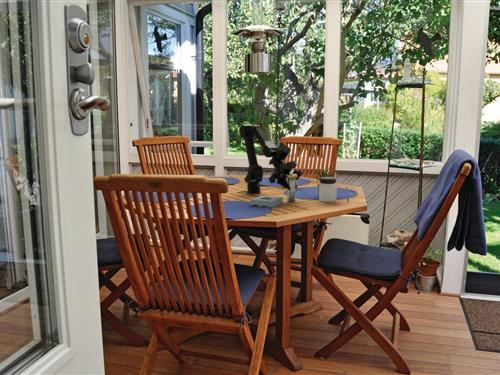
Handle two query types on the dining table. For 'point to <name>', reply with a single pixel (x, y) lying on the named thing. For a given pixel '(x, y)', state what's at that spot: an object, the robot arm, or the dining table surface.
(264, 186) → the dining table surface
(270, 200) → the socket block
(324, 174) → the house plant
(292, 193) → the pin
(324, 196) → the jar
